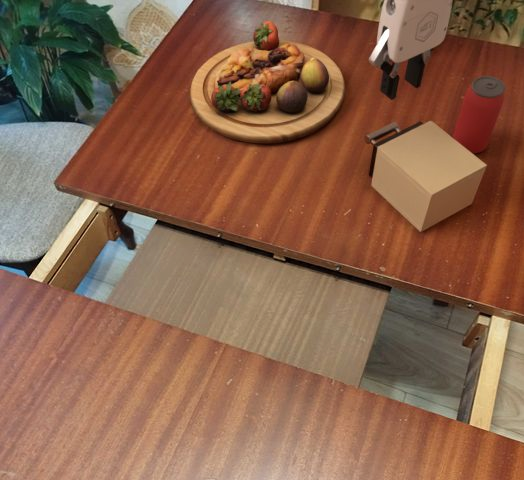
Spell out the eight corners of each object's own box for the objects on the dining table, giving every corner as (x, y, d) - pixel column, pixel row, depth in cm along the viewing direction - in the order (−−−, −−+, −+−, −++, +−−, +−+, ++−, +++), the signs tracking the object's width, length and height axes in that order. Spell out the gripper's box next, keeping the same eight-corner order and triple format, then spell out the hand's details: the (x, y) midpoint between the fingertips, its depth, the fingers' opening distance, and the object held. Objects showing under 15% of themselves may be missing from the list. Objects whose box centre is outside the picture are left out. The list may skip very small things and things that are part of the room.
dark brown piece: (353, 160, 101) (356, 129, 95) (397, 138, 103) (403, 107, 97) (413, 217, 93) (421, 187, 87) (459, 192, 95) (470, 161, 90)
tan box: (371, 185, 98) (377, 146, 91) (420, 160, 101) (430, 120, 94) (420, 232, 92) (431, 194, 85) (471, 203, 95) (487, 165, 88)
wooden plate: (218, 41, 123) (214, 3, 116) (357, 58, 118) (362, 19, 110) (169, 133, 108) (160, 96, 101) (325, 157, 103) (328, 120, 95)
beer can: (494, 146, 102) (517, 87, 92) (468, 160, 100) (489, 103, 90) (468, 127, 105) (488, 69, 94) (443, 141, 103) (460, 83, 93)
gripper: (391, -3, 69) (373, 121, 84) (491, -45, 72) (455, 82, 88) (355, -28, 72) (344, 96, 88) (452, -66, 76) (424, 59, 92)
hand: (400, 88), depth 88 cm, fingers open, 4 cm apart
